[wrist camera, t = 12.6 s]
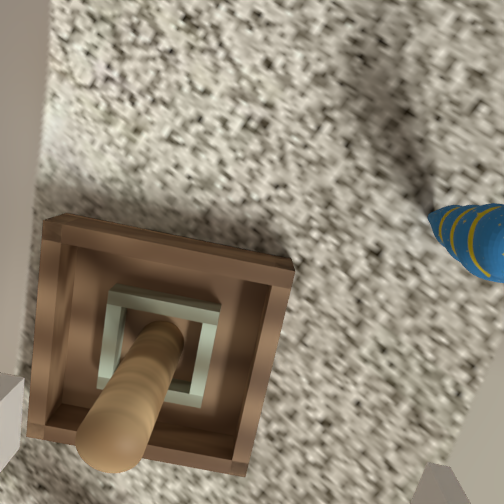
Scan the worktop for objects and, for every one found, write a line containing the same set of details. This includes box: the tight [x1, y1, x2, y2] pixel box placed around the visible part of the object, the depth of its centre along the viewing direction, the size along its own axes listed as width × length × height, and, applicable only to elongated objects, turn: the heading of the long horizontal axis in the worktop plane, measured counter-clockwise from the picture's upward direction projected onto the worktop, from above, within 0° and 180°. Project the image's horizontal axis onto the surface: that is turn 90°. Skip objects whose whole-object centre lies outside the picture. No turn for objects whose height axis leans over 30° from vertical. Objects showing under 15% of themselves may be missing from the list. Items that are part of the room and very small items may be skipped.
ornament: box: [428, 203, 504, 283], centre depth 29 cm, size 5×5×15 cm
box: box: [26, 213, 295, 477], centre depth 38 cm, size 21×21×4 cm
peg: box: [75, 321, 184, 473], centre depth 32 cm, size 4×4×14 cm
